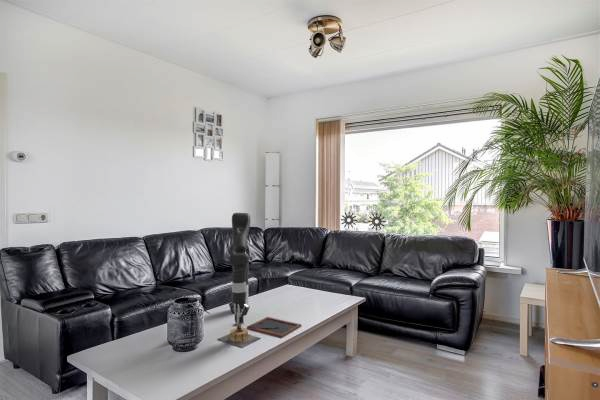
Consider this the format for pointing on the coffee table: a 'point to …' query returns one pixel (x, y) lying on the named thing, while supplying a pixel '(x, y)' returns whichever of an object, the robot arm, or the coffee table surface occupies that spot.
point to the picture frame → (274, 327)
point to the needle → (238, 322)
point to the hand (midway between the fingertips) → (239, 322)
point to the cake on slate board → (239, 338)
